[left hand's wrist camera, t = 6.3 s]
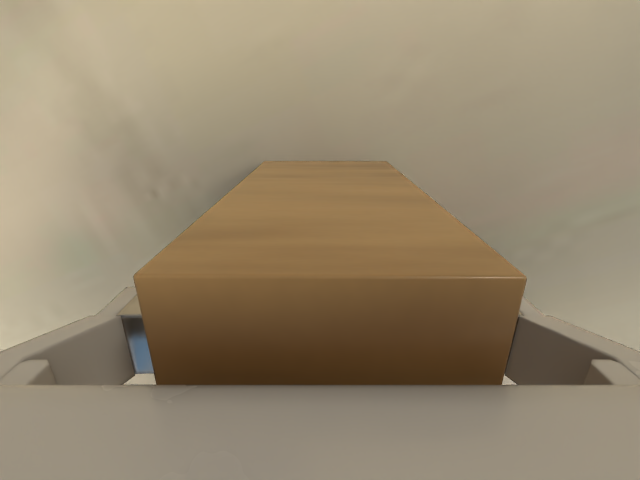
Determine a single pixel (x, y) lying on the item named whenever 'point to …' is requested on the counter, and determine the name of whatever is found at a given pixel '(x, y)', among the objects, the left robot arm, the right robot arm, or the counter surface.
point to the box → (328, 286)
